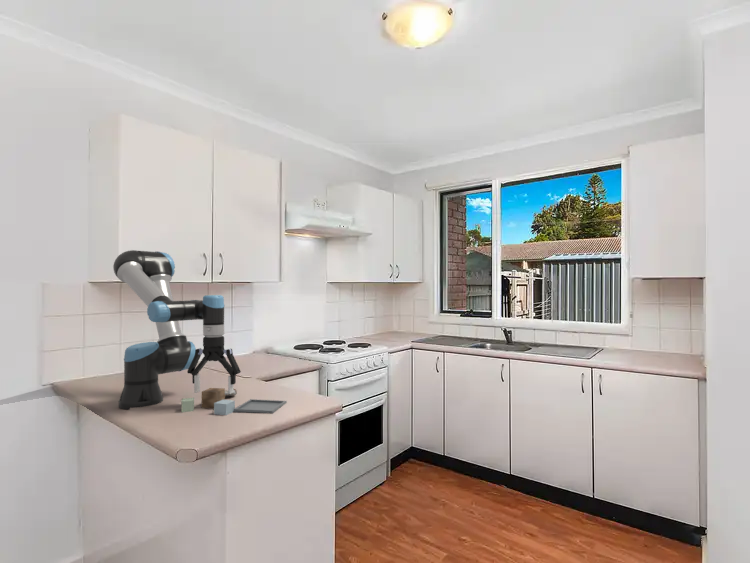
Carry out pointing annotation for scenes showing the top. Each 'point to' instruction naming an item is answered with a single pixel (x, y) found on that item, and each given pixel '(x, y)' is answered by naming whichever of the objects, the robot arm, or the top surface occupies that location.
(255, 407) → the tray
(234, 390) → the stone
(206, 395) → the block walnut
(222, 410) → the block bluegrey
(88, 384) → the top surface
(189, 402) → the block sage
